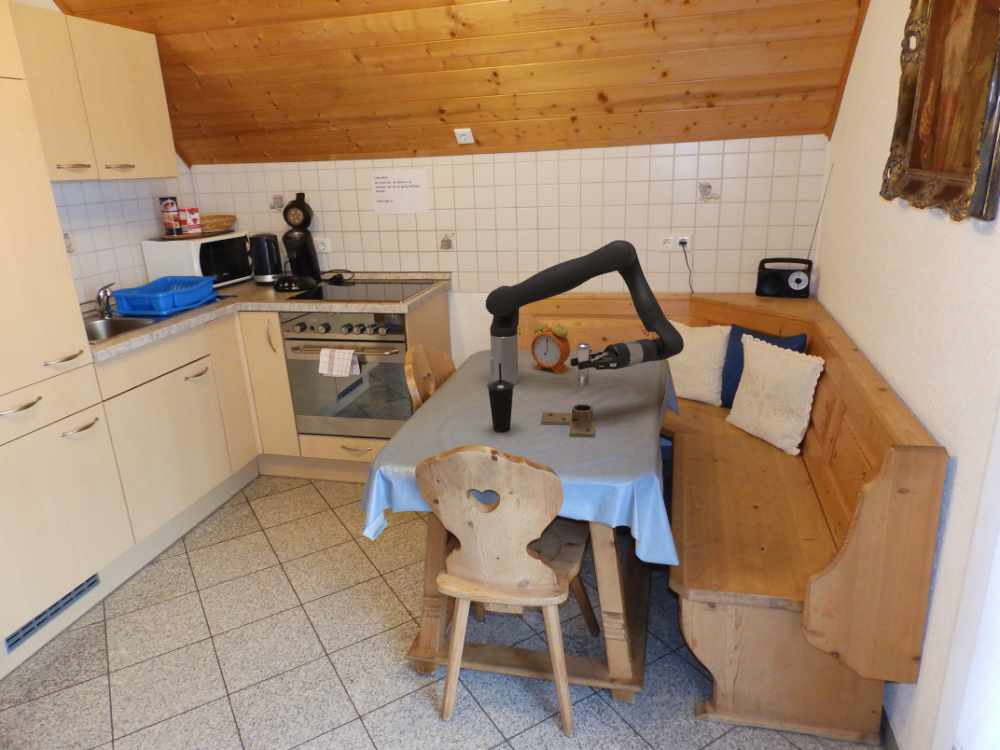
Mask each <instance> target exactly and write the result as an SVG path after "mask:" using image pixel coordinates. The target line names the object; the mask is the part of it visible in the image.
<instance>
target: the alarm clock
mask: <svg viewBox="0 0 1000 750" xmlns="http://www.w3.org/2000/svg"><path fill="white" fill-rule="evenodd" d="M548 317H550V318H551V317H552V318H553V316H551V315H548ZM556 318H557V319H559V317H558V316H556ZM546 328H547V330H546V331H543V330H545V329H546ZM540 331H541V333H538V332H540ZM533 333H534V334H536V333H538V334H536V336H535V337H534V338H533V339H532V342H531V347H530V350H531V355H532V359H533V360H534V361H535V362H536V364H537V365H536V367H535V370H536V371H542V370H544V369H552V372H553V373H554V374H557V375H559V374H561V373H564V372H565V371H567V368H566V366H565V362H566V361H568V359H569V357H570V353H571V345H570V342H569V340H568V329H567V328H566V327H564V326H563V325H561V324H559V323H557V324H556V325H554V326H553V327H550V326H549V324H548V323H545V322H544V320H542V321H541V323H537V325H536V326H535V327H534V328H533Z"/></svg>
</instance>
